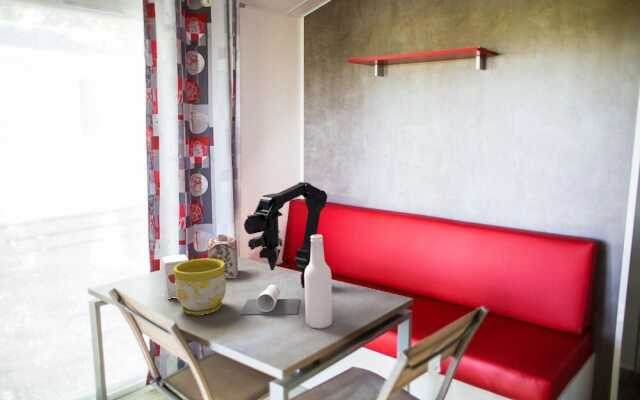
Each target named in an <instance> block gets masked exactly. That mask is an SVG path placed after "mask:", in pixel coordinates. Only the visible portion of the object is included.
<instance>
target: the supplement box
mask: <svg viewBox="0 0 640 400" xmlns="http://www.w3.org/2000/svg"><path fill="white" fill-rule="evenodd" d="M161 260H162V272H163V273H162V274H163V287H164V288H163V290H164V294H166V295H165V296H167V297H166V299H167V298H172V297H177V296H176V291H175V281H176V278H175V274H176V273H174V270H173V269H174V267H175V266H176V265H178V264H180V263H182V262H185V261H189V259H188V256H186V254H184V253H183V254H178V255H177V254H176V255H170V256H163V257H162V258H161Z"/></svg>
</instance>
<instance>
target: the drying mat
mask: <svg viewBox="0 0 640 400" xmlns="http://www.w3.org/2000/svg"><path fill="white" fill-rule="evenodd" d="M256 301H257V298H255V299H254V298H253V299H251V298H250V299H249V298H248V299H247V300H246V301H245V303H244V305H243V307H242V309H241V311H240V313H239V315H240V316H257V315H258V316H263V315H264V316H265V315H266V316H269V315H272V316H273V315H275V316H276V315H278V316H279V315H280V316H281V315H283V316H284V315H290V316H291V315H298V312H299V307H300V304H301V303H300V301H301V298H278V300H277V303H276V305H275V307H274V308H273V309H272V310H271V311H269V312H263V311H261V310H260V309H259V308H258V307H257V304H256Z"/></svg>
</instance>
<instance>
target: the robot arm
mask: <svg viewBox="0 0 640 400" xmlns="http://www.w3.org/2000/svg"><path fill="white" fill-rule="evenodd" d="M300 196H302V197H303V198H304V199H305V206H306V208H307V216H306V222H305V230H304V234H303V235H304V236H303V241H302V246H301V247H300V249H298V248H297V249H296V250H295V251H296V253H295V257H294V260H295V264H296V266H297V269H298V271H301V273H300V285H301V287H302V288H303V289H305V280H304V273H305V269H306V267H307V266H308V265H309V263H310V256H311V236H312V235H318V229H319V223H320V216H321V212H322V210H324V208H325V207H326V204H327V201H328V194H327V193H326V191H325V190H322V189H320V188H318V187H316V186H314V185H312V184H311V183H309V182H303V181H300V182H297V184H295V185H293V186H290V187H288V188H286V189H284V190H281V191H280V192H275V193H269V194H264V195H262V196H261V197H259V199H260V200H259V202H258V204H257V206H256V208H255V210H254V211H253V214H247V218H246V219H245V221H244V223H243V227H244V231H245V232H246V234H248V235H254V234H258V233H261V235H259V236H256V237H252V238H250V239H249V240H248V241H247V244H248V245H247V247H249V248H250V250H251V251H252V250H255V249H257V248H260V247H261V249H260V251H259V253H258V254H259V258H260V259H267V262H268V265H269V269H270V271H274V270H275V268H276V265H277V262H278V259H279V256H280V253H281V250H282V249H278V248H279V247H280V248H281V247H283V245H284V244H283V243H284V242H283V239H282V238H280V230H279V217H282V216H284V215H283V213H282V212H281V211H280V210H281V209H282V208H284V205H285V204H287V203H288V202H291V201H292V200H294V199H296V198H299V197H300Z"/></svg>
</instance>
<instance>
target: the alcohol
mask: <svg viewBox="0 0 640 400" xmlns="http://www.w3.org/2000/svg"><path fill="white" fill-rule="evenodd" d="M323 238H324V236H323V235H322V234H317V235H312V236H311V256H310V263H309V265H308V266H307V267H306V269H305V273H304V280H305V288H304V306H305V308H304V309H305V323H306V325H307V326H308V327H309V328H311V329H317V330H319V329H326V328H329V327H330V326H331V324H332V323H333V299H332V298H333V296H332V295H333V293H332V292H333V291H332V290H333V289H332V272H331V268H330V266H329V265H328V264H327V263H326V261H325V260H326V259H325V254H324V252H325V251H324V243H323V242H324V239H323ZM328 326H329V327H328Z"/></svg>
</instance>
